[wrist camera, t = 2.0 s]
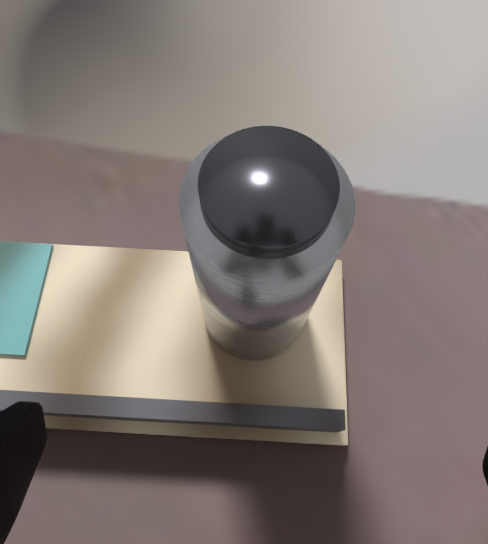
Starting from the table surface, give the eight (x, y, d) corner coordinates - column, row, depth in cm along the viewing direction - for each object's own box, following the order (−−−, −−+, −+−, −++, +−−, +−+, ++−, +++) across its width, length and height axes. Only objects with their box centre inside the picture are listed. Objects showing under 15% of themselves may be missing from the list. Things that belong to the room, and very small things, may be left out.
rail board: (338, 266, 24) (349, 244, 21) (344, 445, 20) (358, 444, 18) (-87, 242, 24) (-123, 218, 22) (-154, 416, 20) (-206, 411, 18)
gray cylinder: (323, 332, 22) (399, 218, 11) (231, 379, 21) (225, 300, 11) (274, 249, 23) (303, 87, 13) (187, 289, 22) (146, 147, 12)
